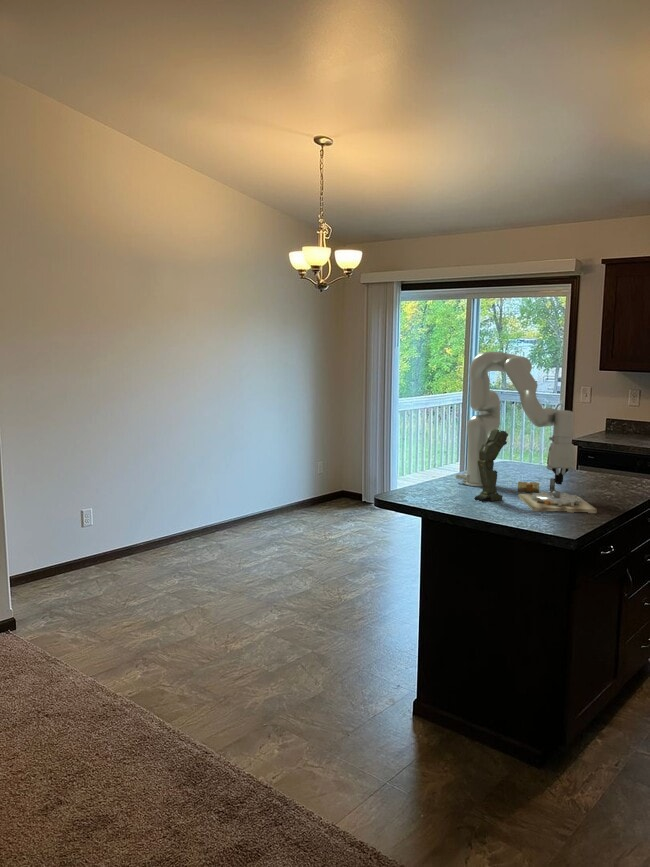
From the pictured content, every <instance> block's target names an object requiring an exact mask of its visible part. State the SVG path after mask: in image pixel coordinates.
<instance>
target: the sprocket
mask: <svg viewBox="0 0 650 867" xmlns="http://www.w3.org/2000/svg"><path fill="white" fill-rule="evenodd" d="M549 491H550V492H547V491H546V492H545V491H539V493H532V494H533V495H531V499H534V500H535V502H542V503H545V504H547V505H549V504H553V505H558V506H562V505H569V506H574V504H578V505H580V504H581V502H582V499H583V498H582V497H580V498H577V496H578V495H575V494H573V495H571V494H568V493H567V492H563V493H562V492H561V491H558V490H556V483H555V477H553V478H552V477H551V478H549Z"/></svg>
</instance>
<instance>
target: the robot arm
mask: <svg viewBox="0 0 650 867" xmlns="http://www.w3.org/2000/svg"><path fill="white" fill-rule="evenodd" d="M532 365H533V364H532V363H531V361H530V359H529V358H527V357H525V356H521V355H515V354H512V353H507V352H503V351H502V352H501V351H485V352H481V353H479V354H478V355H476V356H475V357H474V358H473V359H472V361H471V362H470V367H469V375H470V376H469V381H470V382H469V383H470V384H469V404H470V408H471V410H473V411H474V412H476V413H477V412H480V414H475V415H473V416H472V417H470V418H469V420H467V424H466V434H467V455H466V456H467V457H466V458H467V459H466V472H464V473H463V474H456V475H455V479H456V480H462V484H463V485H465V486H469V487H470V486H471V487H482V488H483V485H482V483H481V477H480V471H479V466H478V459H479V451H480V449H481V447H482V444H483V445H485V444H486V443H487V441H488V437H489V435H490V433H491V431H492V430H493V429H497V430H499V428H500V424H501V422H500V421H501V400H500V397H499V395H498V394H497V393H496V391H494V390H491V389H490V388H491V387H490V386H491V385H490V382H491V380H490V376H489V374H488V373H489V372H503V373H506V375H507V377H508V378H509V380H510V382H511V383H512V385H513V387H514V388H515V389H516V391H517V393H518V394H519V400H520V403H521V407H522V409H523V410H522V411H524V414H525V416H526V417H527V418H528V419H529V421H530V422H531V423H532V425H534V427H537V428H544V427H553V430H552V431H553V433H552V436H550V437H549V441H551V442H550V444H549V448H548V453H547V460H546V464H547V465H546V469H547V470H548V471H552V472H553V473H554V479H555V485H558V486H559V485H562V483H563V482H564V476H565V475H566V473H567V472H571V471H573V470H574V467H575V460H576V459H575V457H576V456H575V445H574V444H573V443H572V441H573V433H574V432H573V430H574V420H575V419H574V418H575V414H574V412H573V411H572V410H567V409H564V410H563V409H562V410H561V409H556V408H551V407H545V408H543V406H542V405H541V403H540V401H539V400H538V398H537V394H536V392H537V389H538V385H539V384H538V382H537V380H536V379H535V378H534V377H533V375H532V374H531V372H532V368H533V367H532Z"/></svg>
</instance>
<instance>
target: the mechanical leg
mask: <svg viewBox="0 0 650 867" xmlns="http://www.w3.org/2000/svg"><path fill="white" fill-rule="evenodd" d="M508 436H509V433H508V432H507V431H505V430H500V429H498V430H497V429H493V430H492V431H491V433H490V434H489V435H488V441H487V443H486V444H485V445H483V444H482V447H481V449H480V451H479V459H478V466H479V471H480V477H481V483H482V485H483V487H482V490H481V491H480V494H478V495H476V496H474V498H473V499H475V501H477V500H479V501H478V502H480V501H482V502H481V503H484V502H483V501H490V502H495V501H494V500H497V501H502V500H503V495H502V494H500V493H499V492H498V491H497V487H496V485H497V481H498V471H497V470H494V467H495V466H494V465H495V460H496V459H497V457H498V455H499V454H500V451H501V450H502V449H503V447H504V446H505V445H507V444H508V441H507V439H508Z"/></svg>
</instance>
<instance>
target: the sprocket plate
mask: <svg viewBox="0 0 650 867" xmlns="http://www.w3.org/2000/svg"><path fill="white" fill-rule="evenodd" d="M531 495H533V493H518V498H519V499H520V501H522V502H523V504H525V505H526V506H527V505H528V506H529V507H530V508H531V509H532V510H533V511H532V510H531V509H530V508H529V507H528V506H527V507H528V508H529V509H530V510H531V511H532V512H544V511H567V512H566V513H574V512H588V513H587V514H597V513H598V509H597V508H596V507H594V506H593V505H591V504H590V503H589V502H587V501H585V500H584V499H583V498H582V502H581V504H580V505H578V504H574V506H569V505H562V506H558V505H553V504H549V505H547V504H545V503H542V502H535V500H534V499H531ZM576 496H577V498H581V497H580V496H578V495H576Z"/></svg>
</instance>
